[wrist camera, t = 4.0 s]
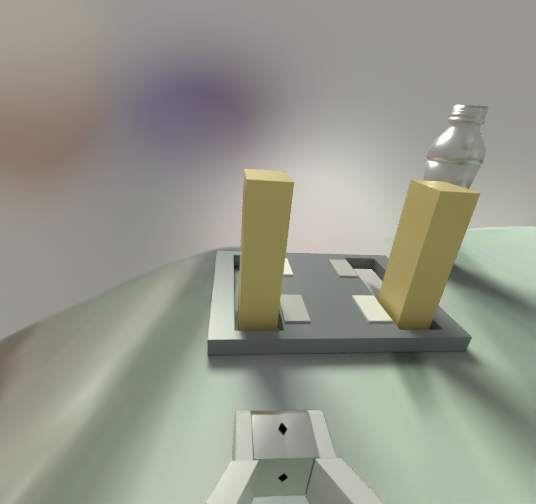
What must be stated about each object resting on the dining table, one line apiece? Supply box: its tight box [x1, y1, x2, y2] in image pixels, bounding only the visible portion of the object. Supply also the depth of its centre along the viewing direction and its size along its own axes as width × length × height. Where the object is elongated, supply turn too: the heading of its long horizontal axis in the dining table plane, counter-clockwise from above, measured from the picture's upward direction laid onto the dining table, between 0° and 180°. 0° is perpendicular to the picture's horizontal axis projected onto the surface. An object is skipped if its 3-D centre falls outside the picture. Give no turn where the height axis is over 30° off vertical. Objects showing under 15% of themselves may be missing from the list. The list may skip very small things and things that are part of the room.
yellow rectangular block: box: [378, 180, 480, 330], centre depth 26 cm, size 4×3×13 cm
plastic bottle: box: [424, 105, 488, 189], centre depth 40 cm, size 6×7×20 cm
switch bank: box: [208, 251, 472, 355], centre depth 32 cm, size 16×22×2 cm
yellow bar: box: [238, 169, 294, 331], centre depth 25 cm, size 4×3×13 cm
